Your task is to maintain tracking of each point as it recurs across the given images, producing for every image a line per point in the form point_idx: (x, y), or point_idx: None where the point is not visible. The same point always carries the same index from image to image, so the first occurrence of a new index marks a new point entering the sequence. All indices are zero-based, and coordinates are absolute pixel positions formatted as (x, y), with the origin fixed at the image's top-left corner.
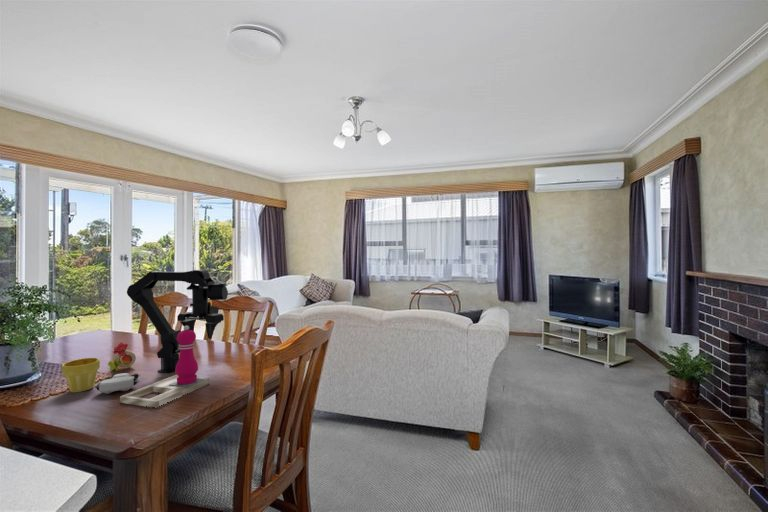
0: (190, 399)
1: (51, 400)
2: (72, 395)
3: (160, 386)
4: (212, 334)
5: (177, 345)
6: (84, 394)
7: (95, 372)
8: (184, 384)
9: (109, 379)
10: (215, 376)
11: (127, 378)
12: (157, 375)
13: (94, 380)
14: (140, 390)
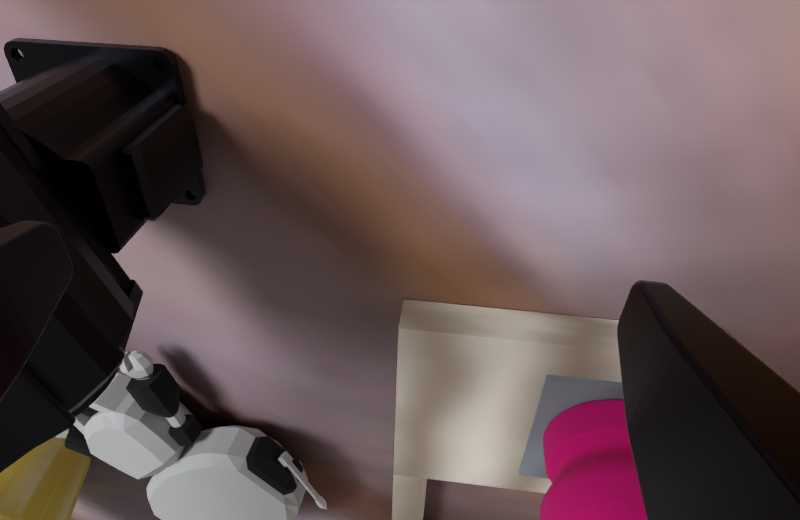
0: None
1: (106, 517)
2: (112, 487)
3: (479, 481)
4: (750, 368)
5: (115, 365)
6: (143, 480)
7: (37, 514)
8: None
9: (163, 502)
10: (704, 190)
11: (248, 499)
12: (167, 249)
13: (55, 465)
14: (417, 514)
